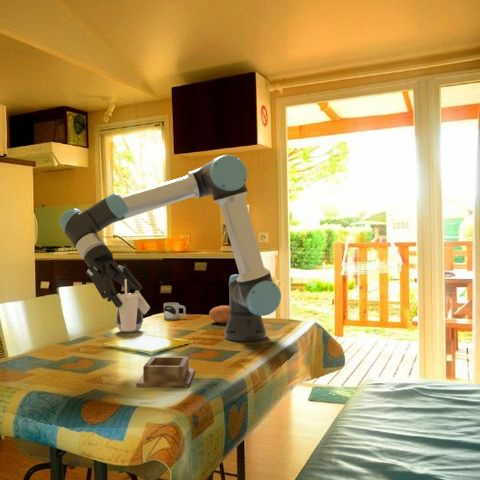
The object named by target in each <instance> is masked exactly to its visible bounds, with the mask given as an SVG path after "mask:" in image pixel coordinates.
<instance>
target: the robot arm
mask: <svg viewBox="0 0 480 480" xmlns="http://www.w3.org/2000/svg"><path fill="white" fill-rule="evenodd" d="M247 178H248V170H247V167H246V165H245V163H244V162H243V161H242V160H241V158H239V157H237V156H236V155H232V154H224V155H220V156H218V157H217V156H216V157H215V158H214V159H213V160H211V161H208V162H207V163H206V164H203V166H200V167H199V168H196V169H194V170H191V171H188V172H187V174H186V175H185V176H183V177H179V178H176V179H172V180H169V181H166V182H163V183H159V184H156V185H153V186H150V187H147V188H144V189H141V190H137V191H133V192H130V193H127V194H124V195H120V194H119V193H117V192H113V193H111V194H109V195H107V196H106V197H104V198H102V199H101V200H100V201H98V202H97V203H95V204H93V205H92V206H91V207H89V208H87V209H85V210H83V211H82V210H81V209H79V208H72V209H69V210H66V211H65V212H63V213H62V214H61V216H60V218H59V226H60V227H61V229H62V231H63V233H64V234H65V236H66V237H67V238H68V240H69V241H70V242H71V244H72V246H74V248H75V249H76V251H77V252H78V254H79V255H80V256H81V258H82V259H83V260H84V261H83V262H85V264H86V265H87V267H88V269H87V270H86V271H85V274H86V275H87V276H88V278H89V279H90V280H91V281H92V283H93V285H94V286H95V288H96V290H97V291H98V293H99V295H100V297H101V298H102V300H106V301H108V302H109V303H110V302H111V301H112V303H113V304H114V306H115V308H117V310H118V309H119V310H120V311H121V313H122V314H123V316H124V317H125V318H128V317H129V315H130V314H131V313H132V310H131V309H130V307H129V306H128V304H127V303H126V302H125V300H124V299H123V297H122V296H121V294H122V293H119V292H118V293H117V290H116V288H115V285H114V282H117V283H118V284H119V285H121V287H122V288H124V289H125V279H127V293H135V294H139V295H140V298H139V300H138V307H139V309H140V310H141V312H142V315H146V314H147V313H148V311H149V310H150V309H151V307H150V305H149V303H148V302H147V301H146V299H145V297H144V296H143V294H142V293H141V292H140V291H141V290H142V289H143V285H142V284H141V283H140V282H139V281H138V279H137V278H136V277H135V275H134V274H133V273H132V272H131V271H130V270H129V268H128V266H127V264H126V263H122V265H121V264H118V262H116V261H115V260H114V255H113V253H112V251H111V249H109V247H108V246H107V245H106V242H104V240H103V239H102V237H101V236H100V235H99V234H98V233H99V232H101V231H102V230H103V229H105V228H107V227H109V226H110V225H111V224H114V223H117V222H119V221H124V220H126V219H129V218H131V217H135V216H138V215H140V214H144V213H148V212H150V211H153V210H157V209H160V208H163V207H165V206H169V205H172V204H175V203H178V202H181V201H184V200H187V199H190V198H195V199H199V198H203V197H207V196H208V197H209V196H212V198H213V199H212V200H213V202H214V203H216V204H217V205H219V207H220V210H221V211H220V212H221V214H222V218H223V221H224V225H225V229H226V231H227V236H228V239H229V242H230V246H231V249H232V253H233V256H234V260H235V264H236V267H237V270H238V271H237V272H238V274H237V273H236V274H231V275H230V276H229V282H228V288H229V291H228V293H229V301H228V302H229V304H228V306H229V310H230V315H229V319H228V323H226V327H225V329H224V338H225V339H227V340H229V341H234V342H254V341H262V340H265V339H266V338H267V330H266V327H265V322H264V320H263V317H264V316H269V315H271V314H273V313H274V312H275V311H276V310H277V309H278V307H279V305H280V304H281V302H282V301H281V300H282V292H281V289H280V288H279V287H278V285H277V284H276V283H275V282H274V281H273V278H272V275H271V270H270V269H268V268H266V267H265V266H264V262H263V259H262V254H261V252H260V249H259V244H258V242H257V241H258V240H257V237H256V233H255V231H254V226H253V223H252V219H251V216H250V212H249V209H248V205H247V201H246V196H247V194H248V193H249V191H248V187H247V184H246V182H247Z"/></svg>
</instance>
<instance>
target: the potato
mask: <svg viewBox="0 0 480 480" xmlns="http://www.w3.org/2000/svg"><path fill="white" fill-rule="evenodd" d="M208 315H209V317H210V319H211V320H212V321H213V322H216V323H219V324H227V323H228V319H229V315H230V310H229V305H219V306H215V307H213V308H212V309H210V311H209V314H208Z"/></svg>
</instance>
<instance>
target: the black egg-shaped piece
mask: <svg viewBox="0 0 480 480" xmlns="http://www.w3.org/2000/svg"><path fill="white" fill-rule="evenodd" d="M127 294H129V292H127ZM143 315H144V314H143V313H142V312H141V310H140V309H139V307H138V310H137V320H136V329H135V330H133V331H122V327H121V320H120V314H119V309H118V308H117V311H116V319H115V323H116V325H117V328H118V330H119V331H120V332H121V333H124V334H125V333H126V334H129V333H130V334H131V333H136V332H139V330H140V329H141V328H142V325H143V322H144V316H143Z"/></svg>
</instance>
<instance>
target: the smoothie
mask: <svg viewBox="0 0 480 480" xmlns="http://www.w3.org/2000/svg"><path fill="white" fill-rule="evenodd" d="M127 293H129V292H128V291H127V279H125V288H124V293H120V294H121V296H122V297H123V299H124V300H125V302H126V303H127V304H128V306H129V307H130V309H131V310H132V313H131V314H130V315H129V317H128V318H125V317H124V316H123V314H122V313H121V311H120V310H119V314H120V320H121V327H122V331H133V330H135V329H136V320H137V310H138V300H139V298H140V295H139V294H135V293H129V294H127ZM122 331H121V332H122Z"/></svg>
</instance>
